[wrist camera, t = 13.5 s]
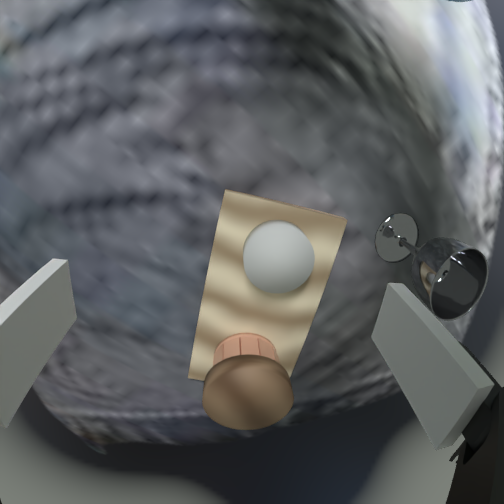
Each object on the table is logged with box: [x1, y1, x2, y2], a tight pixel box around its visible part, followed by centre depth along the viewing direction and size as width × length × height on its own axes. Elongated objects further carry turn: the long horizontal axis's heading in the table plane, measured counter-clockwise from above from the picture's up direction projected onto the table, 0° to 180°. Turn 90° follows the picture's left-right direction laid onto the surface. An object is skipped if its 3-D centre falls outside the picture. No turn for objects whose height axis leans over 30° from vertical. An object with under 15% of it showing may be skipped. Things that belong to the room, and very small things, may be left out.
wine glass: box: [375, 213, 488, 321], centre depth 33 cm, size 8×8×15 cm
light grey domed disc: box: [243, 220, 315, 293], centre depth 37 cm, size 8×8×3 cm
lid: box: [202, 354, 294, 430], centre depth 37 cm, size 11×11×3 cm
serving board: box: [188, 189, 347, 381], centre depth 42 cm, size 28×15×2 cm, turn 166°
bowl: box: [213, 333, 280, 366], centre depth 41 cm, size 9×9×6 cm
